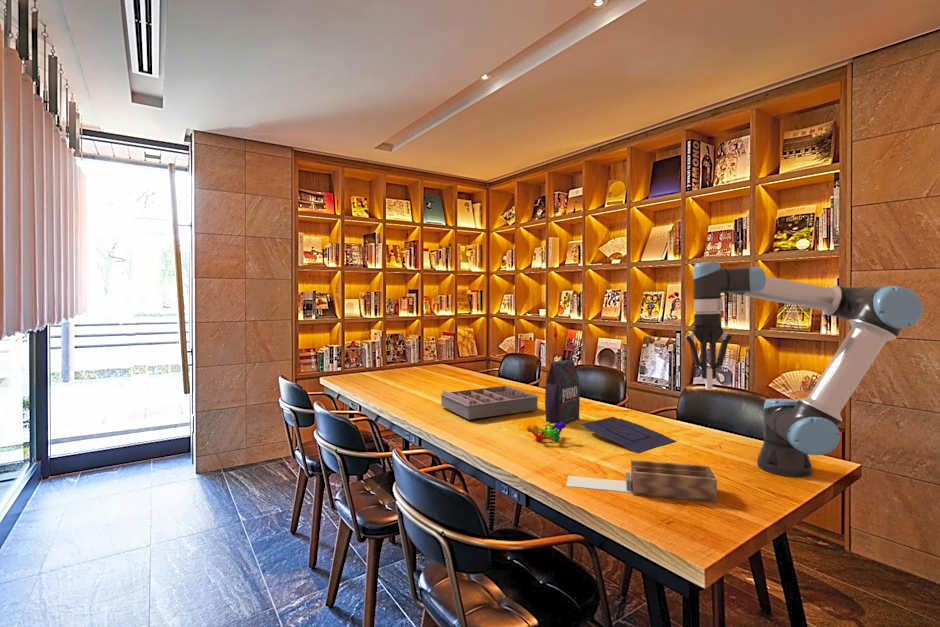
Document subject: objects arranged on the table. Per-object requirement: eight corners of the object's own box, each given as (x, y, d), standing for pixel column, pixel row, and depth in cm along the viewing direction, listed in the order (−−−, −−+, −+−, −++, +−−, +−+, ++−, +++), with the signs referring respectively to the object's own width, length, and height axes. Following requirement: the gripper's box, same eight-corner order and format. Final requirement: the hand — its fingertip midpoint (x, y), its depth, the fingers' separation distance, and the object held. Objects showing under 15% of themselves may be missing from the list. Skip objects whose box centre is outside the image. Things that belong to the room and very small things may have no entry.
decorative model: (525, 425, 197) (560, 416, 197) (531, 447, 195) (566, 437, 195) (527, 426, 184) (564, 415, 185) (533, 449, 183) (571, 438, 183)
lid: (630, 484, 147) (630, 471, 147) (632, 494, 140) (632, 481, 139) (568, 478, 153) (568, 466, 152) (566, 488, 145) (566, 475, 145)
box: (708, 487, 143) (708, 465, 143) (716, 502, 132) (717, 479, 132) (630, 480, 149) (631, 459, 149) (633, 494, 138) (633, 472, 138)
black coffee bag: (580, 420, 220) (580, 359, 219) (559, 427, 209) (558, 363, 208) (565, 416, 226) (565, 358, 225) (544, 423, 215) (543, 361, 214)
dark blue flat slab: (615, 421, 212) (616, 414, 212) (676, 447, 187) (677, 438, 187) (576, 431, 199) (577, 422, 198) (636, 460, 174) (637, 450, 173)
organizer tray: (539, 412, 236) (539, 392, 236) (467, 423, 218) (467, 401, 217) (505, 399, 264) (505, 382, 264) (439, 408, 246) (439, 389, 246)
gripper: (727, 311, 149) (728, 386, 150) (682, 312, 152) (683, 386, 153) (734, 312, 141) (735, 391, 142) (686, 314, 145) (688, 391, 146)
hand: (708, 388), depth 148 cm, fingers closed
